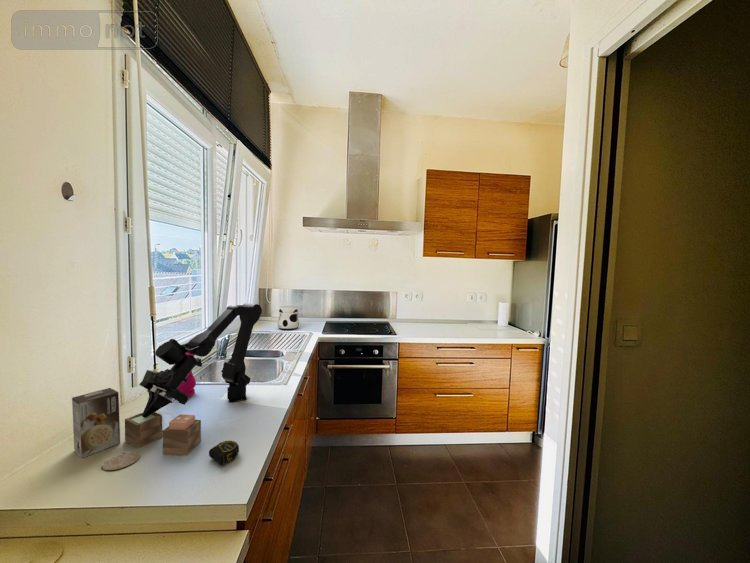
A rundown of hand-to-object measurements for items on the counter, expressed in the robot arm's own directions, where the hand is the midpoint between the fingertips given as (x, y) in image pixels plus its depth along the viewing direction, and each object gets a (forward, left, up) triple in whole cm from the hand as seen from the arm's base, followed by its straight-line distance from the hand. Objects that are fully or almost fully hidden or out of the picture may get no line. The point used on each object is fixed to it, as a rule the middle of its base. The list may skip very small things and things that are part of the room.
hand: (143, 416), depth 97 cm
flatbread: (+3, +11, -8) cm, 14 cm away
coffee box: (+11, 0, -7) cm, 13 cm away
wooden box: (-11, +10, -7) cm, 17 cm away
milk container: (-73, -145, -7) cm, 163 cm away
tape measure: (-22, +21, -7) cm, 31 cm away
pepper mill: (-9, -31, -7) cm, 33 cm away
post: (0, 0, -7) cm, 7 cm away
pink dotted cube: (-11, +10, -3) cm, 15 cm away
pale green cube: (0, 0, -5) cm, 5 cm away
